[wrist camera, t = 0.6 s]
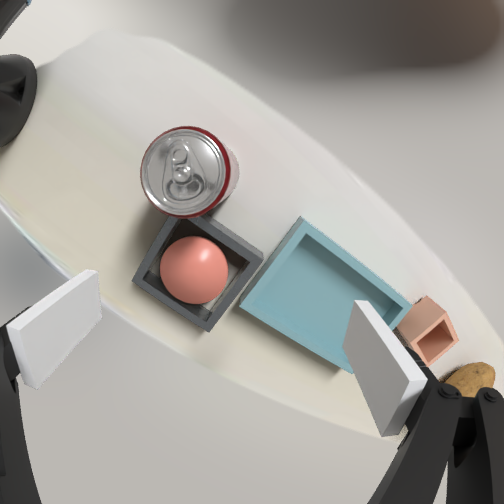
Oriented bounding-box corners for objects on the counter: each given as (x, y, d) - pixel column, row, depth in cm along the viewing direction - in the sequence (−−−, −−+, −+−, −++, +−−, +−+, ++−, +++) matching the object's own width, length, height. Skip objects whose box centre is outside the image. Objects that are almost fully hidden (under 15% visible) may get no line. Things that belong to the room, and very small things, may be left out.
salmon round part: (155, 272, 35) (148, 278, 33) (187, 220, 34) (182, 224, 31) (207, 307, 36) (203, 315, 34) (242, 258, 35) (241, 264, 32)
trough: (240, 296, 37) (239, 306, 34) (300, 215, 34) (304, 219, 31) (346, 361, 39) (352, 374, 36) (403, 296, 37) (412, 305, 34)
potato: (486, 362, 40) (508, 384, 32) (435, 415, 43) (452, 442, 35) (467, 340, 39) (493, 365, 31) (411, 401, 42) (428, 431, 34)
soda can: (241, 202, 34) (233, 216, 22) (179, 206, 34) (141, 223, 23) (237, 138, 32) (227, 119, 21) (174, 144, 32) (134, 131, 21)
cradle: (140, 272, 36) (131, 280, 33) (184, 199, 34) (178, 201, 31) (212, 321, 38) (208, 332, 35) (263, 252, 35) (263, 260, 33)
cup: (392, 321, 38) (409, 342, 32) (424, 293, 36) (446, 311, 31) (408, 346, 39) (425, 368, 33) (438, 321, 38) (459, 340, 32)
